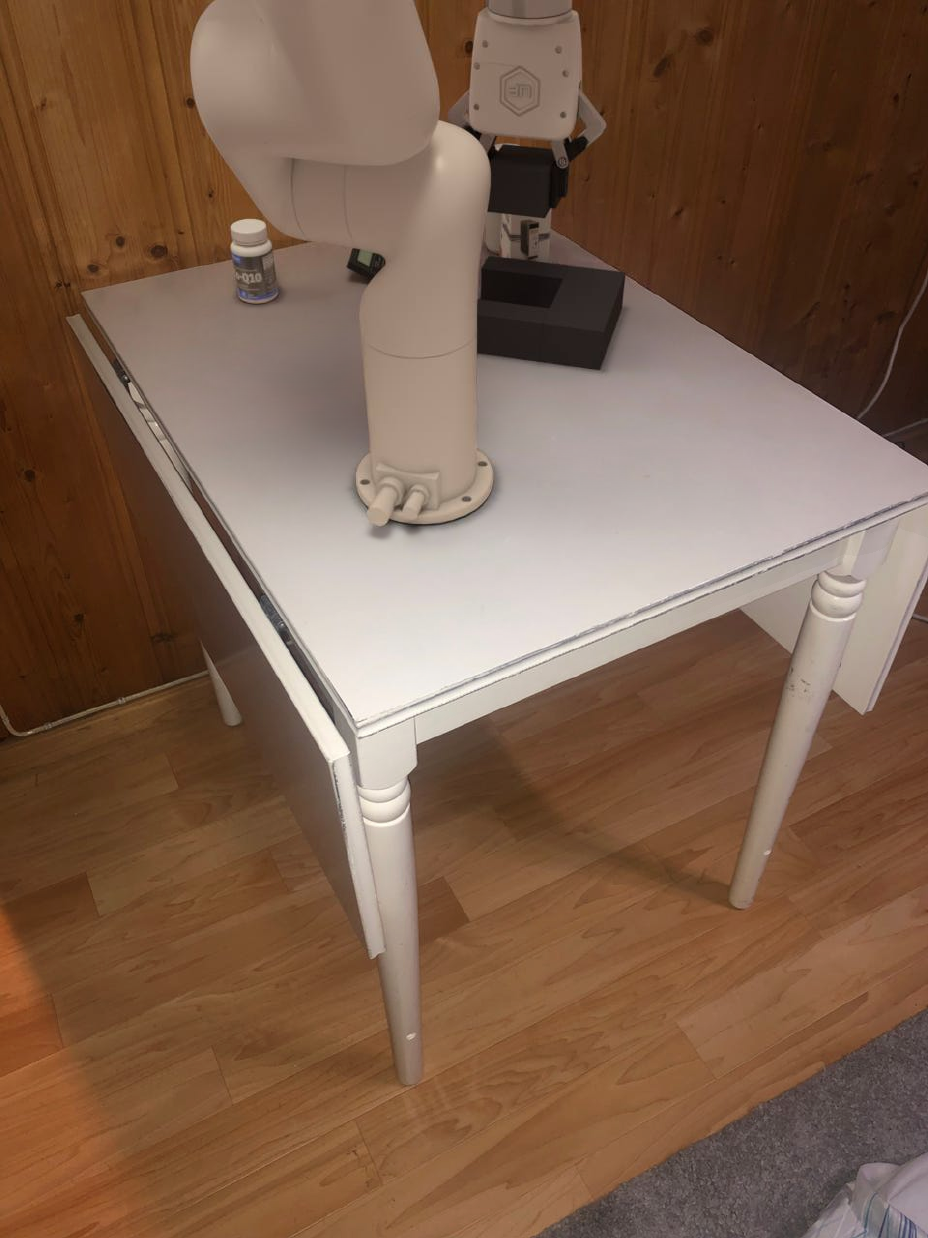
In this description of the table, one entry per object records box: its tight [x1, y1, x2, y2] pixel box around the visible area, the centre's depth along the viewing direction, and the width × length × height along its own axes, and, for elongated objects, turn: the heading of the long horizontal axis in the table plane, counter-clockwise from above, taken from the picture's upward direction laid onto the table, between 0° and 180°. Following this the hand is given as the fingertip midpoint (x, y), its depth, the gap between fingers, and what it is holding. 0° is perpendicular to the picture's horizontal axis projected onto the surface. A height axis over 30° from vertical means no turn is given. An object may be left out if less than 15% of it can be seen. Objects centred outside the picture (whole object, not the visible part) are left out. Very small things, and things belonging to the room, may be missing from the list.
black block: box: [487, 143, 555, 218], centre depth 101 cm, size 6×6×4 cm
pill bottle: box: [230, 218, 279, 305], centre depth 117 cm, size 5×5×8 cm
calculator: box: [346, 248, 386, 281], centre depth 124 cm, size 9×12×3 cm
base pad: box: [477, 255, 627, 371], centre depth 113 cm, size 16×14×4 cm
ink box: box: [499, 208, 553, 263], centre depth 119 cm, size 9×5×12 cm, turn 6°
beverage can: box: [485, 143, 521, 255], centre depth 125 cm, size 5×5×12 cm
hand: (523, 197), depth 102 cm, fingers closed on black block, 6 cm apart
